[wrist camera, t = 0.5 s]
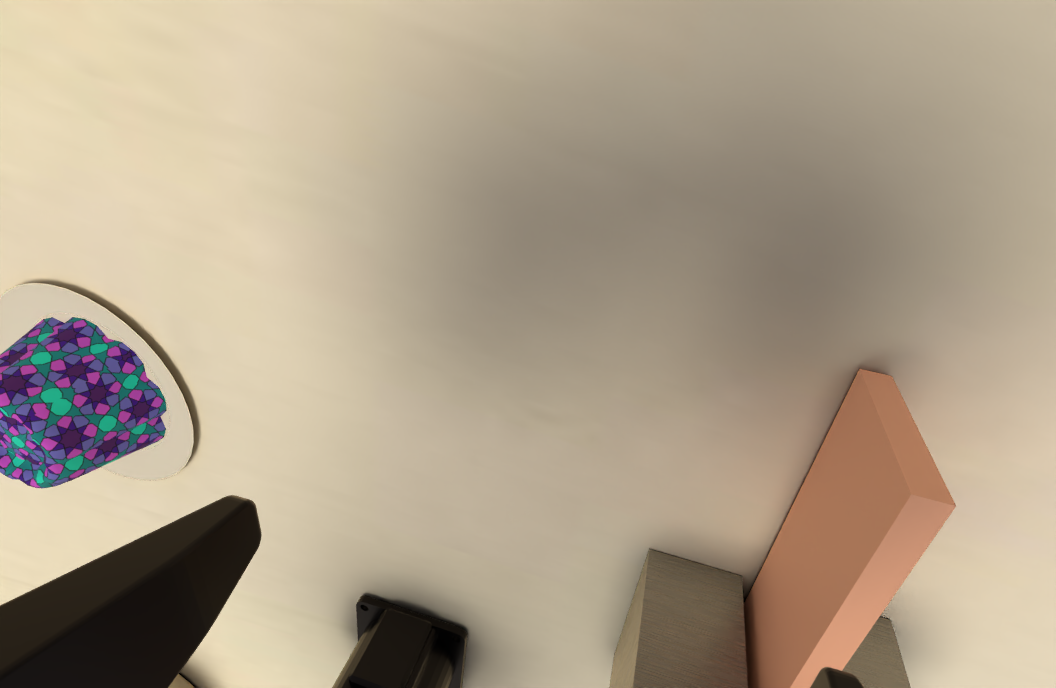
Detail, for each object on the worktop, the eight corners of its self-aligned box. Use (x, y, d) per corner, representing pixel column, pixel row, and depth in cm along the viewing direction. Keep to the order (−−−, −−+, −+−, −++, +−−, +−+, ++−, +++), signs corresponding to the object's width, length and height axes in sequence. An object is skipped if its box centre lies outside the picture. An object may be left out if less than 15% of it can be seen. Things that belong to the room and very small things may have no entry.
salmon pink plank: (729, 682, 28) (733, 827, 23) (709, 675, 29) (708, 817, 24) (891, 376, 19) (956, 506, 14) (859, 368, 19) (911, 494, 14)
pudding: (245, 423, 30) (163, 495, 25) (140, 497, 35) (59, 566, 31) (57, 230, 27) (-73, 273, 22) (-24, 345, 33) (-139, 397, 28)
